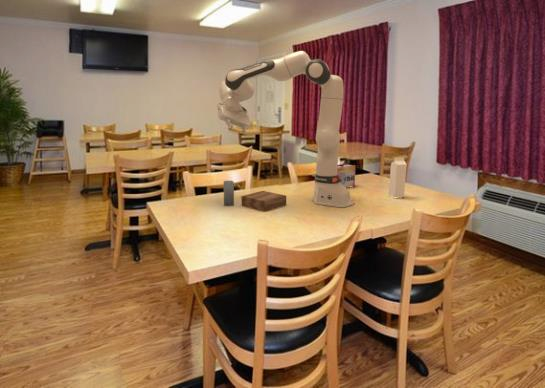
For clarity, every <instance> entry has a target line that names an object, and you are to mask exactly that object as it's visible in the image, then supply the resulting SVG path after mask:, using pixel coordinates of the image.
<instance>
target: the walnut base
mask: <svg viewBox="0 0 545 388" xmlns="http://www.w3.org/2000/svg"><path fill="white" fill-rule="evenodd" d="M241 206H242V207H246V208H249V209H253V210H256V211H257V210H258V211H262V212H265V213H266V212H268V211H272V210H277V209H279V208H282V207H285V206H287V195H285V194H281V193H275V192H271V191H266V190H260V191H257V192H253V193H249V194H245V195H241Z"/></svg>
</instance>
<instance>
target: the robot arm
mask: <svg viewBox="0 0 545 388" xmlns="http://www.w3.org/2000/svg"><path fill="white" fill-rule="evenodd" d="M308 54H309V53H308ZM308 54H307V52H306V51H304V50H298V51H294V52H291V53H289V54H286V55H284V56H282V57H280V58H276V59H265V60H262V61H259V62H256V63H253V64H250V65H247V66H245V67H241V68H235V69H231V70H229V71H228V72H227V74H226V76H225V78H224V79H225V80H223V81H222V82H221V83H220V85H219V87H218V89H219V91H218V93H219V97H220V101H221V102H222V103H220V102H219V103H217V116H218V118H219V120H220V121H224V123H225V125H226V126H227V127H228V129H231V130H232V129H233V125H234V126H236V127H239V128H241V129H242V130H241V134H244V135H245V134H247V131H246V130H248V129H249V128H250V127H251V126H252V123H251V120H250V117H249V115H248V114H249V112H248V110H247V109H246V108H245V107H244V106H243V105H242V104H241V102H244V101H247V100H249V99H250V98H252V97H253V95H254V92H255V88H254V85H252V83H251V82H250V80H252V79H253V78H254V79H255V78H257V77H259V76H267V77H270V78H272V79H274V80H275V81H278V82H285V81H289V80H291V79H293V78H295V77H298V76H299V75H305V76H306V78H307V79H308V80H309V81H310V82H311V83H313V84H317V85H319V86H320V88H321V95H320V103H319V104H320V106H319V113H318V119H317V127H316V133H315V142H316V145H317V155H316V164H315V165H316V167H315V174H314V183H315V184H314V191H313V195H312V198H311V201H312V202H313V203H314V204H315V205H321V206H322V205H323V206H329V207H335V208H347V207H351V206H353V205H354V203H355V200H352V198H351V193H350V190H349V189H348V188H345V187H344V186H343V185H342V184H341V183H340V179H341V178H342V177H339V176H338V175H337V169H338V165H339V154H340V152H339V151H340V141H341V133H340V126H341V120H342V119H341V118H342V114H343V113H342V112H343V103H344V94H345V93H344V80H343V79H342V78H341V76H339V75H336V74H331V72H330V68H329V66H328V64H327V63H326V62H325V61H323V60H322V59H319V58H315V59H311V58H310V56H309V55H308Z"/></svg>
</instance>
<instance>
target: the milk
mask: <svg viewBox="0 0 545 388" xmlns="http://www.w3.org/2000/svg"><path fill="white" fill-rule="evenodd" d="M407 166H408V164H407V163H406V161H405V158H404V157H394V159H393V161H392V162H391V163H390V173H389V184H388V196H389V195H390V196H393V197H405V189H406V188H405V187H406V177H407Z"/></svg>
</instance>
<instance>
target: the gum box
mask: <svg viewBox="0 0 545 388" xmlns="http://www.w3.org/2000/svg"><path fill="white" fill-rule="evenodd" d="M337 175H338V176H339V177H342V178H341V179H340V183H341V184H342V185H343V186H344V187H350V186H356V185H355V184H356V165H352V164H351V165H350V164H349V163H344V164H343V163H341V164H338V169H337ZM350 188H351V187H350Z"/></svg>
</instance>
